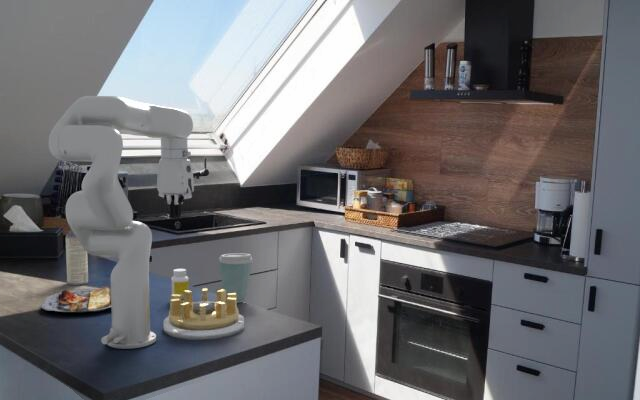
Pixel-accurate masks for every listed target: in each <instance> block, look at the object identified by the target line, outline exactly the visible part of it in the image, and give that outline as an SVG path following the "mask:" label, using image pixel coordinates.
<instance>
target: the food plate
mask: <svg viewBox="0 0 640 400" xmlns="http://www.w3.org/2000/svg"><path fill="white" fill-rule="evenodd" d="M41 308H42V309H43V310H44V311H50V312H52V311H54V312H56V313H57V312H61V313H66V314H68V313H69V314H77V313H78V314H79V313H80V314H83V313H95V312H103V311H105V310H107V309H111V289H110V287H109V286H104V287H99V288H82V289H79V288H78V289H73V290H72V289H71V290H68V289H64V290H62V291H61V292H58V293H54V294H51V295H50V296H47V297H45V299H44V301H42V304H41ZM58 308H62V309H58ZM63 309H67V310H63ZM83 309H86V310H83Z"/></svg>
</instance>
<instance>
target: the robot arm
mask: <svg viewBox="0 0 640 400" xmlns="http://www.w3.org/2000/svg"><path fill="white" fill-rule="evenodd" d="M193 128H194V122H193V119H192V116H191V115H190V114H189V113H188V111H185V110H183V109H179V108H175V107H173V108H172V107H168V106H161V105H155V104H152V103H151V104H150V103H145V102H139V101H135V100H132V99H128V98H124V97H121V96H114V95H85V96H82V97H79V98H78V99H76V100H75V101H74V102H73V103H72V104H71V105H70V106H69V107H68V108H67V109H66V111H65V112H64V114H63V115H61V117H60V119H59V120H58V121H57V122H56V124H55V125H54V126H53V128H52V129H51V132H50V134H49V136H48V149H49V151H50V153H51V155H52V156H53V157H54V158H56V159H57V160H59V161H64V162H86V163H88V162H89V163H90V162H91V166H90V168H89V170H88V171H87V173H86V174H85V175H84V177H83V180H82V182H81V190H79V191H76V192H73V193H72V194H71V195H70V196H69V198H67V201H66V204H65V218H66V221H67V223H68V225H69V227H70V230H72V231H73V232H74V234H75V236H76V237H77V239H78V240H79V242H80V244H81V245H82V247H83V248H84V249H85V251H86V252H87V254H89V255H90V256H95V257H106V258H114V259H115V258H117V259H118V261H117V263H116V264H115V266H114V267H113V269H112V271H111V273H110V290H111V307H110V309H111V327H110V328H109V329H110V330H109V333H108V334H107V335H105V336H103V337H101V340H100V341H101V343H102V344H103V345H107V346H109V347H111V348H114V349H122V350H125V349H126V350H129V349H130V350H131V349H138V348H144V347H148V346H151V345H152V344H154V343H155V342H156V341H157V334H156V333H155V332H153V331H152V330H151V315H150V313H151V311H150V310H151V309H150V308H151V307H150V305H151V304H150V273H149V272H150V255H151V249H152V242H153V232H152V230H151V229H150V227H149V226H148V225H147V224H145V223H143V222H141V221H136V220H133V219H134V211H133V208H132V205H131V203H130V201H129V199H128V198H127V195H126V194H125V191H124V189H123V188H122V185H121V182H120V181H119V169H120V163H121V159H122V155H123V148H124V141H123V137H122V134H127V135H131V136H137V137H138V136H141V137H148V138H150V139H160V159H159V161H158V166H157V174H156V175H157V179H156V184H157V187H156V188H157V191H158V196H159V197H161V198H163V199H165V200H166V203H167V205H169V207H168V209H169V213H168V214H169V218H170V219H178V218H181V217H182V205H183V203H184V202H185V200H188V199H191V198H192V197H193V195H192V193H193V192H194V191H195V181H194V172H193V170H194V169H193V166H192V162H191V159H188V158H189V157H191V155H192V153H191V151H189V149H188V138H189V136H191V134H192V132H193Z"/></svg>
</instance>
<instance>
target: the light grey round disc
mask: <svg viewBox="0 0 640 400" xmlns="http://www.w3.org/2000/svg"><path fill="white" fill-rule="evenodd" d="M243 329H245V317H244V316H243V315H242V314H240V313H239V320H238V321H237V322H236V323H234V324H233V325H230V326H227V327H223V328H218V329H211V330H189V329H182V328H178V327H175V326H173V325H171V324H170V323H169V315H168V316H167V317H165V318H164V320H163V332H164V333H165V334H166V335H168V336H171V337H172V338H177V339H182V340H188V341H189V340H193V341H205V340H207V341H209V340H217V339H225V338H227V337H230V336H234V335H237V334H238V333H239V334H240V332H241V331H243Z"/></svg>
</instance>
